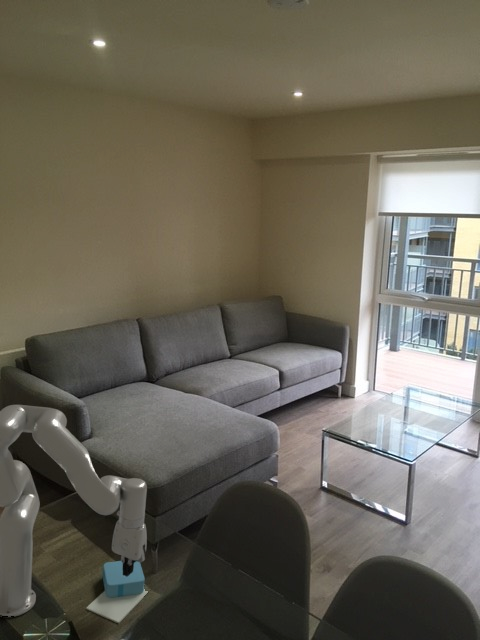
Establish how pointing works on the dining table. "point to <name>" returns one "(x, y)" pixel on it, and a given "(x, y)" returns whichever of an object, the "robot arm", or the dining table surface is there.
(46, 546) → the dining table surface
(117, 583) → the data package
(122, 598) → the mat
